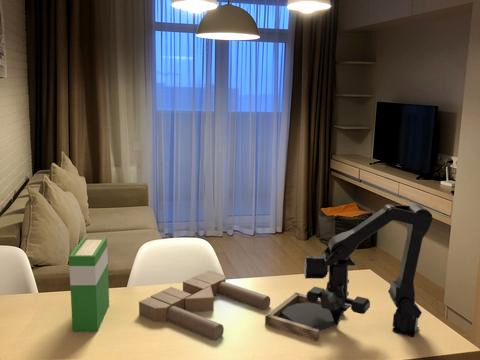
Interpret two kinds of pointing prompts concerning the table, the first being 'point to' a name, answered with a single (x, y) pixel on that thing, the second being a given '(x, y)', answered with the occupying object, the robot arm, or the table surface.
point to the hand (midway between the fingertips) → (336, 325)
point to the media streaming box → (309, 315)
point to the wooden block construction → (197, 303)
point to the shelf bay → (290, 326)
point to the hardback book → (89, 284)
